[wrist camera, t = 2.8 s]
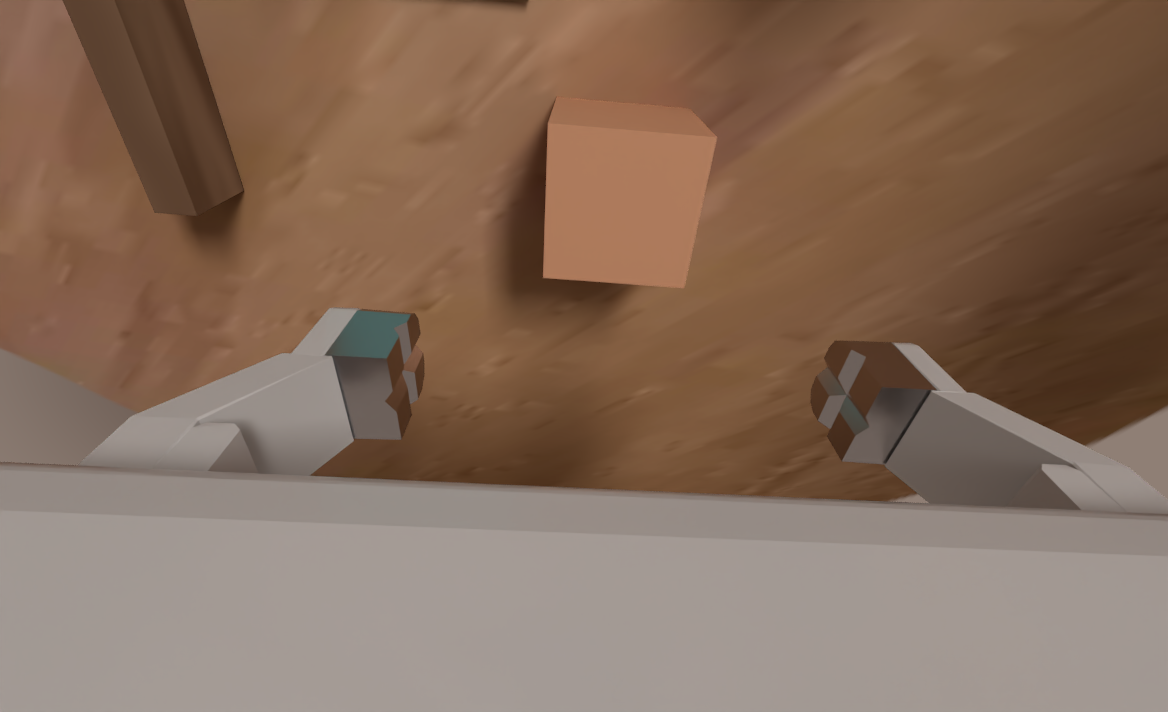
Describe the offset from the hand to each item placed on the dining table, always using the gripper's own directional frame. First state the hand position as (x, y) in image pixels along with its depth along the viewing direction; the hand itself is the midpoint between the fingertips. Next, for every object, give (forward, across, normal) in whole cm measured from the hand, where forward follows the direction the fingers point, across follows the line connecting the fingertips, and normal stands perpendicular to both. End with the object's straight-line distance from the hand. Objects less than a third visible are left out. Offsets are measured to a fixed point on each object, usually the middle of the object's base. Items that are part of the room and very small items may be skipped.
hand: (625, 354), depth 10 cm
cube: (+13, -1, 0) cm, 13 cm away
